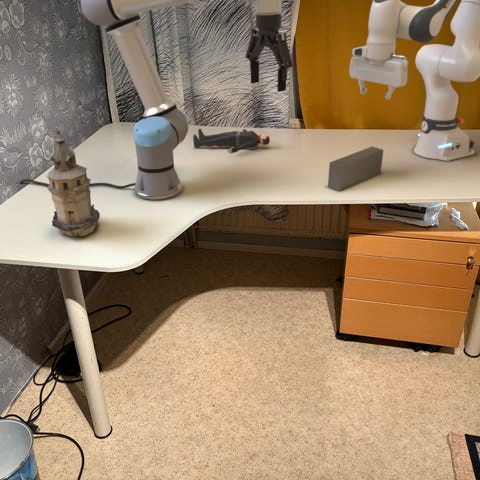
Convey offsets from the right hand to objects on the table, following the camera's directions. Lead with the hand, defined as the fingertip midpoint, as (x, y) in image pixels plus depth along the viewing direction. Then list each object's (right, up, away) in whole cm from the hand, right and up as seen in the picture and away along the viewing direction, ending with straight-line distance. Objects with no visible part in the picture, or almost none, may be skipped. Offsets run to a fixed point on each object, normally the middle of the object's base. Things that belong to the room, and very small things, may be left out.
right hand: (375, 96), depth 174 cm
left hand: (-35, +1, -7) cm, 36 cm away
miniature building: (-91, -44, -19) cm, 103 cm away
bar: (-5, -26, +10) cm, 28 cm away
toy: (-47, -9, +41) cm, 63 cm away
